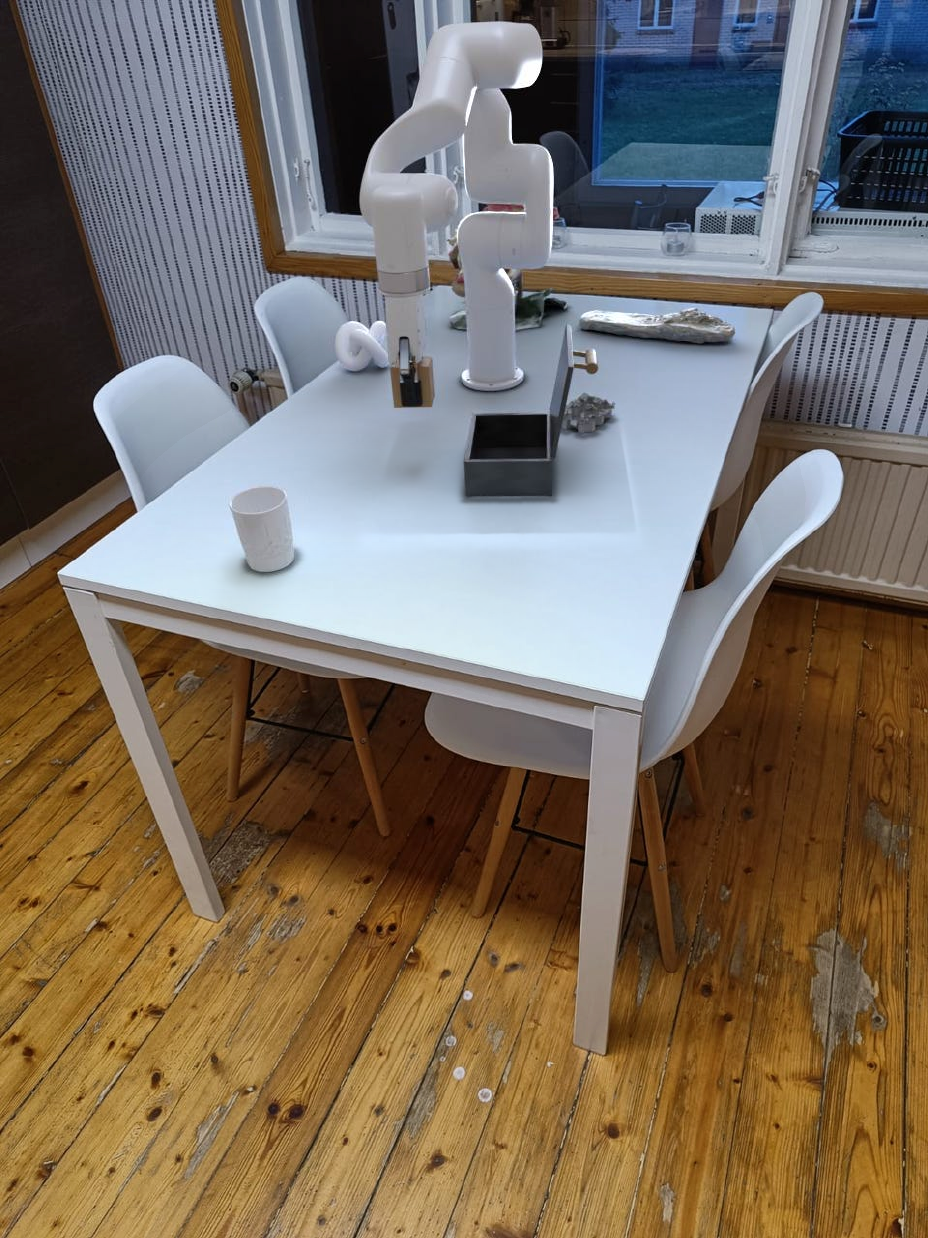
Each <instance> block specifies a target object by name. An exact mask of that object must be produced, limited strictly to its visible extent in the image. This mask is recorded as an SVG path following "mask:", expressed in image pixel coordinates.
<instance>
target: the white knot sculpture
mask: <svg viewBox="0 0 928 1238" xmlns="http://www.w3.org/2000/svg"><path fill="white" fill-rule="evenodd" d="M386 336H387V331H386V322H384V321H382V320H376V321H375V322H374V323H372V324H371V326H370V328H368V327H366V326H365V325H364V324H363V323H361V322H358V321H355V320H353V321H352V320H351V321H348V322H347V321H346V322H345V323H343V324H342V325H341V326H340V327H339V329H338V330H337V333H336V335H335V339H334V350H335V356H336V357H337V360H338V361H339V364H340V365H341V366H342V367H343V368H345V369H346V370H348V371H351V372H360V371H362V370H364V369H365V368H366V367H367V366H368V365H369V364H370V363H371V362H372V361H373V362H374V363H375V365H376V366H377V367H379V368H386V367H388V366H389V364H390V363H389V361H388V352H387V351H385V349H384V348H383V346H381V345H382V344H383V342H384V340H385V337H386Z"/></svg>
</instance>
